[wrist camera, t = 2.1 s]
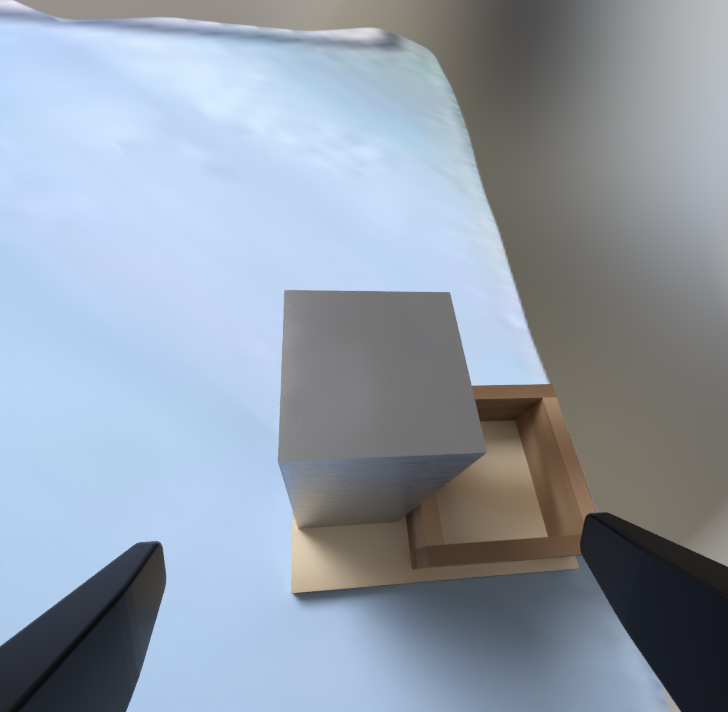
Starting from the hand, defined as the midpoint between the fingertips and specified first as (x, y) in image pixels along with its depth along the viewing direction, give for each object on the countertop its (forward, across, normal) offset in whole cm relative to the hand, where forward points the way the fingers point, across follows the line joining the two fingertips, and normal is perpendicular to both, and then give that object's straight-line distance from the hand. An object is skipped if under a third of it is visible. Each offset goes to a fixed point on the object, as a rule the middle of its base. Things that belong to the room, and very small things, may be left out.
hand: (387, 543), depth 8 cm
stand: (+10, -4, +5) cm, 12 cm away
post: (+10, 0, +5) cm, 11 cm away
